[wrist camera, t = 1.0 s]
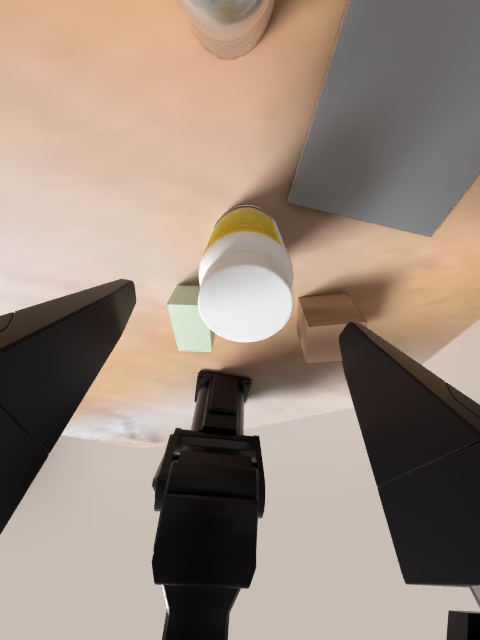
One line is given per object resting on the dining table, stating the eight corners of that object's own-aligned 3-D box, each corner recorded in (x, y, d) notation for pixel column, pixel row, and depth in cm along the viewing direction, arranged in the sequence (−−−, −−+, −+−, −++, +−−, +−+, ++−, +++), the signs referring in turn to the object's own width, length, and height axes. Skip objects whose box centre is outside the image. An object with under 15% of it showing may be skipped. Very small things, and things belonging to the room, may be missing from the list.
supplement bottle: (199, 233, 15) (161, 297, 8) (254, 186, 13) (260, 221, 6) (240, 281, 17) (235, 361, 11) (291, 247, 15) (323, 319, 9)
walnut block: (339, 327, 20) (356, 359, 17) (297, 331, 21) (306, 363, 17) (346, 291, 18) (367, 321, 15) (297, 297, 18) (308, 327, 15)
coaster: (425, 234, 14) (430, 237, 14) (286, 201, 13) (288, 202, 13) (614, -23, 8) (636, -33, 8) (384, -120, 7) (393, -139, 7)
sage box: (215, 329, 21) (212, 351, 19) (186, 328, 21) (178, 350, 19) (212, 285, 18) (207, 305, 15) (177, 284, 18) (166, 304, 15)
